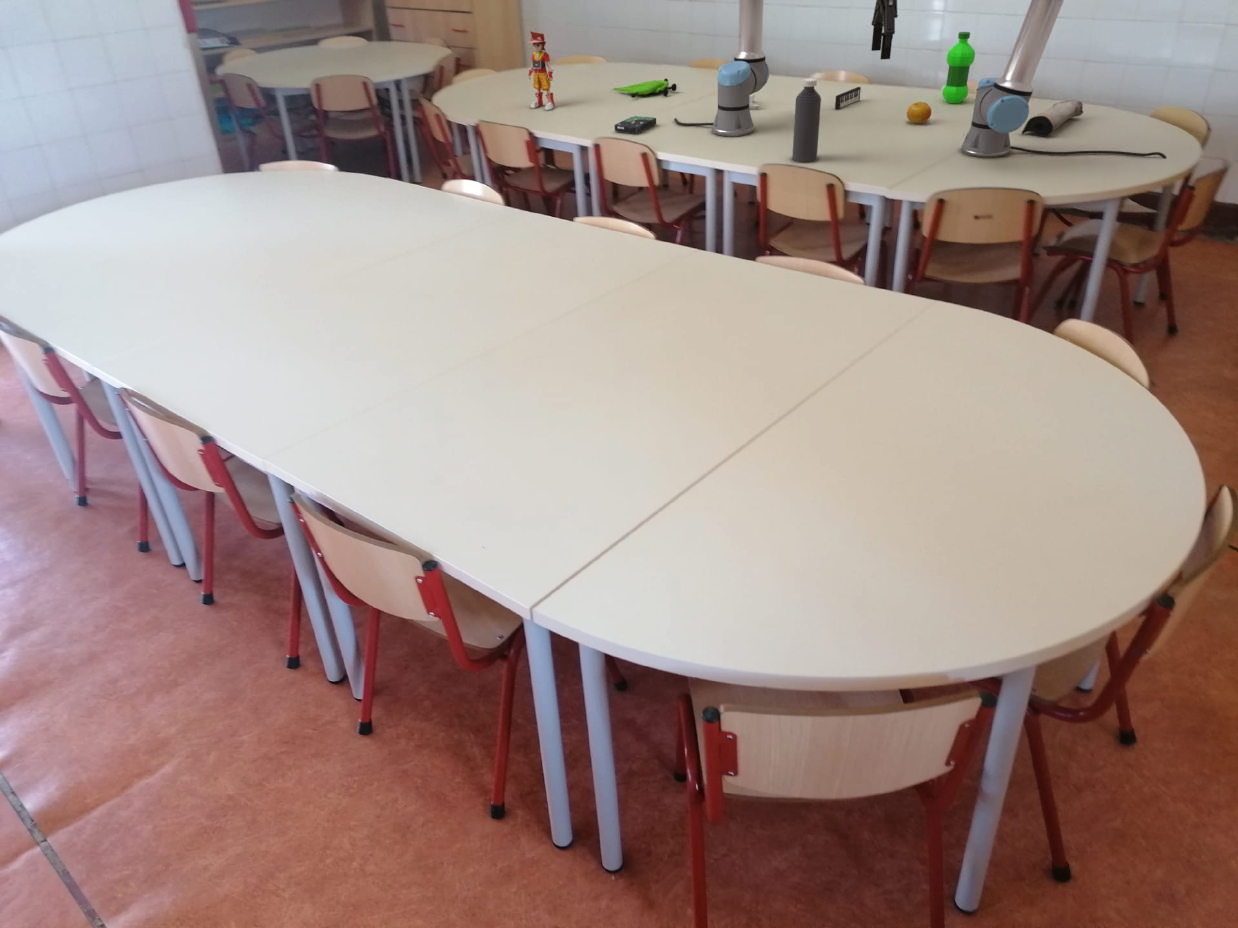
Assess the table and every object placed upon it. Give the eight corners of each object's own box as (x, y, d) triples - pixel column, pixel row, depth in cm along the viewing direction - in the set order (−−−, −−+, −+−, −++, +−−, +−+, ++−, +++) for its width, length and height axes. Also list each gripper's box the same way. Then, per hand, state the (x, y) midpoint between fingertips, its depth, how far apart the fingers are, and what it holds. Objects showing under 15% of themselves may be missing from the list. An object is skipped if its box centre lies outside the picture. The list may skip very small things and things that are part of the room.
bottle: (819, 156, 305) (825, 79, 291) (812, 163, 299) (818, 84, 285) (796, 154, 308) (801, 77, 294) (789, 161, 302) (793, 83, 288)
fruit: (901, 115, 329) (915, 95, 326) (903, 118, 337) (916, 98, 334) (920, 127, 328) (935, 107, 325) (921, 130, 336) (935, 111, 333)
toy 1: (525, 109, 381) (517, 32, 364) (534, 104, 388) (527, 28, 371) (550, 110, 377) (543, 32, 360) (559, 105, 384) (553, 28, 367)
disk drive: (637, 135, 339) (656, 124, 349) (637, 127, 338) (656, 117, 348) (614, 132, 344) (634, 122, 354) (613, 125, 343) (633, 115, 353)
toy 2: (686, 85, 398) (631, 84, 414) (685, 72, 395) (629, 72, 411) (651, 104, 381) (596, 103, 397) (650, 92, 378) (594, 91, 394)
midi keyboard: (837, 109, 354) (838, 96, 352) (834, 109, 355) (835, 95, 352) (859, 100, 365) (861, 87, 362) (857, 99, 366) (858, 86, 363)
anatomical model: (725, 81, 368) (749, 74, 367) (729, 106, 374) (753, 100, 373) (732, 89, 356) (756, 82, 355) (736, 115, 362) (760, 109, 361)
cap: (818, 84, 291) (818, 78, 290) (814, 87, 288) (814, 81, 287) (804, 83, 293) (804, 78, 292) (800, 86, 289) (800, 81, 288)
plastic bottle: (973, 101, 354) (984, 32, 339) (955, 106, 349) (966, 36, 335) (952, 97, 361) (962, 29, 346) (934, 102, 356) (944, 33, 342)
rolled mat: (1050, 105, 331) (1074, 88, 323) (1064, 126, 331) (1088, 109, 323) (1017, 127, 314) (1042, 110, 305) (1032, 149, 314) (1057, 132, 306)
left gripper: (889, -22, 284) (882, 50, 296) (911, -32, 302) (903, 36, 314) (866, -23, 288) (860, 49, 300) (889, -33, 305) (882, 35, 317)
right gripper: (866, -28, 273) (860, 47, 285) (884, -17, 253) (876, 63, 265) (891, -30, 273) (884, 46, 285) (911, -19, 252) (902, 62, 264)
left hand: (882, 43), depth 307 cm, fingers open, 13 cm apart
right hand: (880, 55), depth 275 cm, fingers open, 13 cm apart
